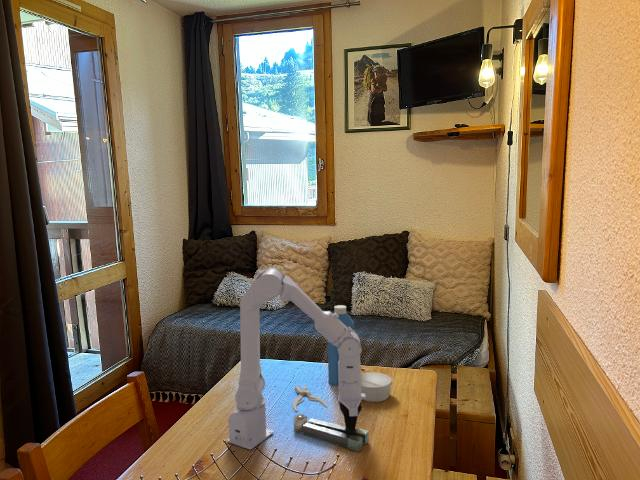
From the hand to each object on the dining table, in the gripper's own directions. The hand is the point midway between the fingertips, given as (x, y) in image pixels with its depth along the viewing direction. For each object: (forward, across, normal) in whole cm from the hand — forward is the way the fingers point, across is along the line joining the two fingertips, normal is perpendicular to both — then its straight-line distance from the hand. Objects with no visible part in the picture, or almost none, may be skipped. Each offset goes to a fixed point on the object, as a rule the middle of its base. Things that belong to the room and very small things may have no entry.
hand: (350, 429), depth 123 cm
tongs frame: (+1, -1, +6) cm, 6 cm away
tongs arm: (+1, 0, +3) cm, 4 cm away
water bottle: (+2, +34, -1) cm, 34 cm away
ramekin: (+2, +22, -10) cm, 24 cm away
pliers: (+2, +22, +11) cm, 25 cm away
